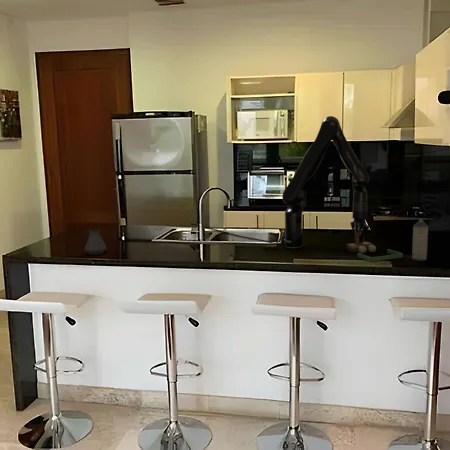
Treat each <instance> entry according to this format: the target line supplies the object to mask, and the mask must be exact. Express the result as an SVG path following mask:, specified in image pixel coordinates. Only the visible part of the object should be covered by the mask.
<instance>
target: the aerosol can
mask: <svg viewBox="0 0 450 450" xmlns="http://www.w3.org/2000/svg"><path fill="white" fill-rule="evenodd" d="M412 226H413V227H412V228H413V229H412V247H411V248H412V249H411V260H413V261H417V262H425V261H427V260H428V240H429V225H428V224H427V223H426V222H425V221H424V218H418V221H417V222H415V223H414V224H413V225H412Z"/></svg>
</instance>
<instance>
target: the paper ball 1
mask: <svg viewBox="0 0 450 450" xmlns="http://www.w3.org/2000/svg"><path fill="white" fill-rule="evenodd" d="M366 250H367V249H366V247H365V246H360V247H359V252H358V253H360V254H363V255H365V254H366V252H367V251H368V250H367V251H366Z"/></svg>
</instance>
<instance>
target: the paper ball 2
mask: <svg viewBox="0 0 450 450" xmlns="http://www.w3.org/2000/svg"><path fill="white" fill-rule="evenodd" d="M376 250H377V247H376V246H375V245H374V244H372V245H370V246H369V247H368V250H367V251H368V252H369V253H375V252H376Z"/></svg>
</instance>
